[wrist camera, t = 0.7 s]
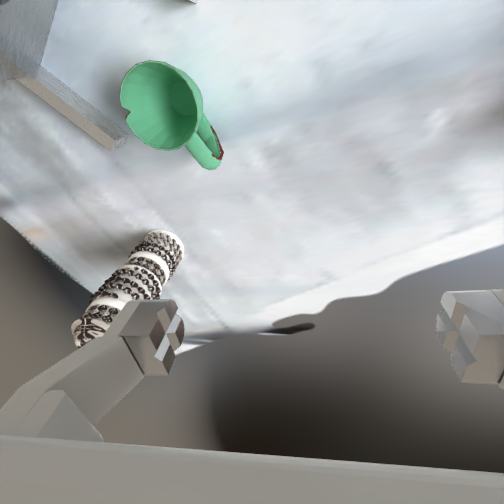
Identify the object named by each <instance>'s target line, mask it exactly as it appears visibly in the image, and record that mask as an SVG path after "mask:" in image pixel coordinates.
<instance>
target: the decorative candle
mask: <svg viewBox="0 0 504 504" xmlns="http://www.w3.org/2000/svg"><path fill="white" fill-rule="evenodd" d="M143 240H144V242H139V244H140V245H139V246H137V247H135V251H132V252H131V256H129V259H128V260H127V262H126V263H125V265H124V266H122V267H119V268H118V269H117V270H116V271H115V273H113V274H112V277H110V278H109V279H108V280H106V281H105V284H103V285H102V286H101V287H100V288H99V289H98V291H99V292H95V293H94V294H93V295H91V297H90V301H89V302H90V306H89V307H88V308H87V310H86V312H85V313H84V315H83V316H82V317H81V319H79V320H76V321H74V323H73V325H72V326H71V328H72V334H73V335H74V342H75V344H76V345H77V347H78V348H81V347H83V346H84V345H86V344H87V343H89V342H90V341H92V340H93V339H95V338H96V337H102V336H103V335H104V333H105V332H106V331H107V329H108V328H109V326H110V325H111V324H112V322H113V321H114V319H115V318H116V317H117V315H118V314H119V313H120V311H121V310H122V308H123V307H124V306H125V304H126V303H127V302H128V301H130V300H159V299H160V295H161V291H162V287H163V286H164V284H165V283H166V282H167V281H168V280H169V279H170V277H171V276H172V275H173V272H174V271H175V269H176V267H177V266H178V265H179V262H180V261H181V260H182V257H183V255H184V247H183V243H182V242H181V240H180V239H179V238H178V237H177V236H176V235H175V234H173V233H172V232H170V231H167V230H164V229H155V230H153V231H150V232H149V233H148V234H147V235H146V237H144V238H143ZM109 282H110V283H109ZM104 289H105V291H103V290H104ZM97 297H99V298H97ZM95 298H97V299H95Z"/></svg>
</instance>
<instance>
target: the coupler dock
mask: <svg viewBox="0 0 504 504" xmlns="http://www.w3.org/2000/svg"><path fill="white" fill-rule="evenodd" d="M190 1H192V2H194V3H196V4H197V2H198V0H190ZM57 2H58V0H0V80H10V79H16V80H18V81H19V82H20V83H22V84H23V85H24V86H26V87H27V88H28V89H30V90H31V91H32V92H33V93H35V94H36V95H37V96H39V97H40V98H41V99H43V100H44V101H45V102H47V103H48V104H49V105H51V106H52V107H53V108H55V109H56V110H57V111H59V112H60V113H61V114H62V115H64V116H65V117H66V118H68V119H69V120H70V121H72V122H73V123H74V124H76V125H77V126H78V127H80V128H81V129H82V130H84V131H85V132H86V133H88V134H89V135H90V136H91V137H93V138H94V139H95V140H97V141H98V142H99V143H101V144H102V145H103V146H105V147H106V148H107V149H109V150H110V151H112V150H113V149H115V148H117V147H119V146H121V145H123V144H124V142H125V140H126V138H127V137H128V134H127V133H125V132H124V131H123V130H122V129H120V128H119V127H118V126H116V125H115V124H114V123H113V122H111V121H110V120H109V119H108V118H106V117H105V116H104V115H103V114H101V113H100V112H99V111H97V110H96V109H95V108H94V107H92V106H91V105H90V104H89V103H87V102H86V101H85V100H84V99H82V98H81V97H80V96H79V95H77V94H76V93H75V92H73V91H72V90H71V89H70V88H68V87H67V86H66V85H65V84H63V83H62V82H61V81H60V80H58V79H57V78H56V77H54V76H53V75H52V74H51V73H49V72H48V71H47V70H46V69H44V68H43V67H42V66H41V65H40V63H41V60H42V56H43V53H44V49H45V45H46V42H47V38H48V35H49V31H50V27H51V24H52V20H53V17H54V13H55V10H56V6H57Z"/></svg>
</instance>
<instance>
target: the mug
mask: <svg viewBox="0 0 504 504" xmlns="http://www.w3.org/2000/svg"><path fill="white" fill-rule="evenodd" d="M120 102H121V107H122V108H124V109H127V110H128V111H129V112H130V113H129V114H128V115H127V116H126V119H125V120H126V122H127V125H128V126H129V127H130V129H131V130H132V131H133V133H134V134H135V135H136V136H137V137H138V138H139V139H140V140H142V141H143V142H144V143H145V144H147V145H149V146H151V147H153V148H156V149H159V150H167V151H169V150H174V149H179V148H181V147H182V146H184V145H185V146H186V148H187V149H188V150H189V152H190V153H191V154H192V156H193V157H194V158H195V159H196V160H197V162H198V163H199V164H200V165H201V166H202V167H203V168H206V169H208V170H214V169H216V168H217V167H218V166H219V165H220V163H221V160H222V157H223V154H224V152H223V150H222V147H221V145H220V142H219V140H218V137H217V135H216V132H215V131H214V129H213V128H212V126H211V124H210V123H209V121H208V120H207V118H206V117H205V115H204V113H203V98H202V95H201V91H200V89H199V88H198V86H197V84H196V83H195V82H194V81H193V80H192V79H191V78H190V77H189V76H188V75H187V74H186V73H185V72H183V71H181V70H179V69H178V68H176V67H174V66H172V65H170V64H167V63H165V62H160V61H145V62H142V63H139V64H136V65H135V66H133V67H132V68H131V69H130V70H129V71H128V72H127V73H126V75H125V77H124V79H123V81H122V83H121V90H120ZM197 131H198V133H199V135H200V136H201V138H202V139H203V141H204V142H205V144H204V142H203V141H202V140H201V138H200V137H199V135H198V134H197V133H196V132H197Z"/></svg>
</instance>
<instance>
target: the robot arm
mask: <svg viewBox="0 0 504 504" xmlns="http://www.w3.org/2000/svg"><path fill="white" fill-rule="evenodd" d="M441 304H442V305H443V307H444V309H443V310H442V311H441V312H440V313H439V314H438V316H437V320H436V329H437V334H438V337H439V340H440V342H441V344H442V346H443V348H445V349H446V350H448V351H449V352H451V353H452V355H451V358H450V362H451V364H452V366H453V368H454V370H455V371H456V373H457V375H458V377H459V379H460V381H461V383H481V384H499V387H500V388H502V389H503V390H504V289H500V290H499V289H498V290H497V289H496V290H480V291H451V292H445V293H444V294H443V296H442V300H441ZM177 309H178V307H177V305H176V303H175V301H174V300H171V299H159V300H130V301H128V302H127V303H126V304H125V306H124V307H123V308H122V310H121V311H120V313H119V314H118V315H117V317H116V318H115V319H114V321H113V322H112V324H111V325H110V326H109V328H108V329H107V331H106V332H105V333H104V335H103V336H102V337H96V338H95V339H93V340H92V341H90V342H89V343H87V344H86V345H84V346H83V347H81V348H79V349H78V350H76V351H75V352H73V353H72V354H71V355H69V356H67V357H66V358H64V359H63V360H61V361H60V362H58V363H56V364H55V365H53V366H52V367H50V368H49V369H47V370H46V371H44V372H42V373H41V374H39V375H38V376H36V377H35V378H33V379H32V380H30V381H29V382H27V383H26V384H24V385H22V386H21V387H19V389H18V390H17V391H16V392H15V393H14V395H13V396H12V397H11V398H10V399H9V400H8V402H7V403H6V404H5V405H4V406H3V407H2V408H1V410H0V504H504V473H492V472H480V471H467V470H454V469H441V468H428V467H415V466H403V465H389V464H377V463H364V462H351V461H338V460H324V459H312V458H299V457H286V456H273V455H260V454H247V453H234V452H221V451H208V450H195V449H181V448H169V447H155V446H143V445H130V444H116V443H103V438H102V436H101V434H100V433H99V432H98V431H97V430H96V428H95V427H94V426H95V425H96V424H97V423H98V422H99V421H100V420H101V419H102V418H103V417H104V416H105V415H106V414H107V413H108V412H109V411H110V410H111V409H112V408H113V407H114V406H115V405H116V404H117V403H118V402H119V401H120V400H121V399H122V398H123V397H124V396H125V395H126V394H127V393H128V392H129V391H130V390H131V389H132V388H133V387H134V386H135V385H136V384H137V383H138V382H139V381H140V380H141V379H142V378H143V377H144V375H169V372H170V370H171V367H172V365H173V363H174V361H175V358H176V356H175V353H174V351H175V350H176V349H177V348H179V347H180V346H181V344H182V341H183V338H184V323H183V320H182V318H181V317H180V316H179V315H177V314H176V311H177Z"/></svg>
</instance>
